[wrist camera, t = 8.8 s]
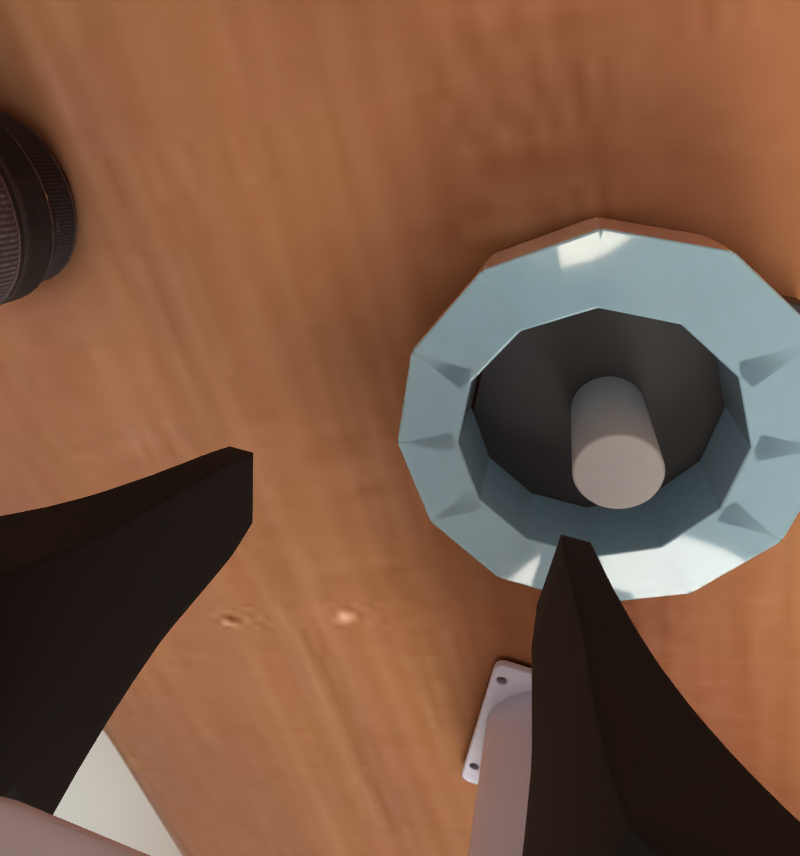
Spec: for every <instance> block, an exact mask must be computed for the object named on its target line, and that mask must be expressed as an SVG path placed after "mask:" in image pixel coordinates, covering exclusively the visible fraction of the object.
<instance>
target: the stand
mask: <svg viewBox="0 0 800 856" xmlns="http://www.w3.org/2000/svg"><path fill="white" fill-rule="evenodd" d="M782 297H783V298H784V299H785V300H786V301H787V302H788V303H789V304H790V305H791V306H792V307H793V308H794V309H795V310H796V311H797V312H798V313H799V314H800V300H798V299H797V298H791V297H786V296H782ZM724 408H725V403H724V398H723V393H722V388H721V383H720V377H719V372H718V367H717V362H716V357H715V356H714V355H713V354H712V353H711V352H710V351H709V350H708V349H707V348H706V347H705V346H704V345H702V344H701V343H700V342H699V341H698V340H697V339H696V338H695V337H694V336H693V335H692V334H691V333H689V332H688V331H687V330H686V329H685V328H684V327H683V326H682V325H681V324H676V323H671V322H666V321H661V320H656V319H651V318H646V317H641V316H636V315H631V314H626V313H621V312H616V311H611V310H606V309H601V308H596V309H593V310H590V311H586V312H583V313H580V314H576V315H573V316H570V317H566V318H563V319H560V320H557V321H553V322H550V323H547V324H543V325H540V326H537V327H533V328H530V329H527V330H523V331H521V332H520V333H519V334H518V335H517V336H516V337H515V338H514V339H513V340H512V341H511V342H510V343H509V344H508V345H507V346H506V347H505V348H504V349H503V350H502V351H501V352H500V353H499V354H498V355H497V356H496V357H495V358H494V359H493V360H492V361H491V362H490V363H489V365H488V366H487V367H486V368H485V369H484V370H483V371H482V372H481V374H480V379H479V383H478V388H477V393H476V398H475V402H474V407H473V413H474V416H475V419H476V421H477V424H478V427H479V430H480V433H481V435H482V438H483V441H484V444H485V446H486V449H487V452H488V455H489V457H490V458H491V459H492V460H493V461H495V462H496V463H497V464H498V465H499V466H500V467H502V468H503V469H504V470H505V471H506V472H507V473H509V474H510V475H511V476H512V477H513V478H515V479H516V480H517V481H518V482H519V483H520V484H522V485H523V486H524V487H525V488H526V489H527V490H529V491H530V492H531V493H533V494H537V495H541V496H545V497H549V498H553V499H557V500H560V501H564V502H568V503H572V504H576V505H580V506H584V507H592V506H598V505H599V506H603V507H606V508H613V509H624V508H630V507H634V506H637V505H640V504H642V503H644V502H646V501H647V500H649V499H650V498H651V497H652V496H653V495H654V494H655V493H656V492H657V491H658V490H659V489H660V488H662V487H663V486H665V485H666V484H667V483H669V482H670V481H672V480H673V479H675V478H676V477H677V476H679V475H680V474H682V473H683V472H685V471H686V470H687V469H689V468H690V467H692V466H693V465H694V464H696V463H697V462H699V461H700V460H701V457H702V455H703V453H704V451H705V449H706V447H707V444H708V442H709V440H710V438H711V436H712V434H713V432H714V429H715V427H716V425H717V423H718V421H719V419H720V416H721V414H722V412H723V410H724Z"/></svg>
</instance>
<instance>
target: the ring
mask: <svg viewBox="0 0 800 856" xmlns="http://www.w3.org/2000/svg"><path fill="white" fill-rule="evenodd" d="M596 308H601V309H606V310H611V311H616V312H621V313H626V314H631V315H636V316H641V317H646V318H651V319H656V320H661V321H666V322H671V323H676V324H681V325H682V326H683V327H684V328H685V329H686V330H687V331H688V332H689V333H691V334H692V335H693V336H694V337H695V338H696V339H697V340H698V341H699V342H700V343H701V344H702V345H704V346H705V347H706V348H707V349H708V350H709V351H710V352H711V353H712V354H713V355H714V356H715V357H716V362H717V367H718V372H719V377H720V383H721V388H722V393H723V398H724V403H725V408H724V410H723V412H722V414H721V416H720V419H719V421H718V423H717V425H716V427H715V429H714V432H713V434H712V436H711V438H710V440H709V442H708V444H707V447H706V449H705V451H704V453H703V455H702V457H701V460H700V461H699V462H697V463H696V464H694V465H693V466H692V467H690V468H689V469H687V470H686V471H685V472H683V473H682V474H680V475H679V476H677V477H676V478H675V479H673V480H672V481H670V482H669V483H667V484H666V485H665V486H663V487H662V488H660V489H659V490H658V491H657V492H656V493H655V494H654V495H653V496H652V497H651V498H650V499H649V500H647V501H646V502H644V503H642V504H640V505H637V506H634V507H630V508H624V509H613V508H606V507H603V506H599V505H598V506H592V507H584V506H580V505H576V504H572V503H568V502H564V501H560V500H557V499H553V498H549V497H545V496H541V495H537V494H533V493H531V492H530V491H529V490H527V489H526V488H525V487H524V486H523V485H522V484H520V483H519V482H518V481H517V480H516V479H515V478H513V477H512V476H511V475H510V474H509V473H507V472H506V471H505V470H504V469H503V468H502V467H500V466H499V465H498V464H497V463H496V462H495V461H493V460H492V459H491V458H490V457H489V455H488V452H487V449H486V446H485V444H484V441H483V438H482V435H481V433H480V430H479V427H478V424H477V421H476V419H475V416H474V413H473V410H472V408H471V407H472V403H473V398H474V394H475V389H476V384H477V380H478V375H479V374H480V373H481V372H482V371H483V370H484V369H485V368H486V367H487V366H488V365H489V363H490V362H491V361H492V360H493V359H494V358H495V357H496V356H497V355H498V354H499V353H500V352H501V351H502V350H503V349H504V348H505V347H506V346H507V345H508V344H509V343H510V342H511V341H512V340H513V339H514V338H515V337H516V336H517V335H518V334H519V333H520V332H521V331H523V330H527V329H530V328H533V327H537V326H540V325H543V324H547V323H550V322H553V321H557V320H560V319H563V318H566V317H570V316H573V315H576V314H580V313H583V312H586V311H590V310H593V309H596ZM398 441H399V442H398V445H399V447H400V450H401V452H402V454H403V457H404V459H405V462H406V464H407V466H408V469H409V471H410V474H411V476H412V478H413V481H414V483H415V485H416V488H417V490H418V493H419V495H420V497H421V500H422V502H423V505H424V507H425V509H426V512H427V514H428V517H429V519H430V520H431V522H432V523H433V524H434V525H435V526H436V527H438V528H439V529H440V530H441V531H442V532H444V533H445V534H446V535H447V536H449V537H450V538H451V539H452V540H453V541H455V542H456V543H457V544H458V545H459V546H461V547H462V548H463V549H464V550H465V551H467V552H468V553H469V554H470V555H471V556H473V557H474V558H475V559H476V560H477V561H479V562H480V563H481V564H482V565H483V566H485V567H486V568H487V569H488V570H489V571H491V572H492V573H493V574H494V575H495V576H497V577H500V578H502V579H505V580H509V581H512V582H516V583H519V584H523V585H526V586H530V587H533V588H536V589H540V590H542V589H543V586H544V583H545V580H546V577H547V574H548V571H549V568H550V565H551V562H552V559H553V556H554V553H555V550H556V548H557V545H558V542H559V539H560V536H561V535H565V536H569V537H573V538H576V539H580V540H584V541H588V542H590V543H591V545H592V546H593V548H594V550H595V552H596V554H597V556H598V558H599V560H600V563H601V565H602V567H603V569H604V571H605V573H606V575H607V577H608V579H609V581H610V583H611V585H612V587H613V589H614V591H615V592H616V594H617V596H618V598H619V600H620V601H624V600H633V599H643V598H652V597H662V596H671V595H681V594H689V593H692V592H694V591H696V590H698V589H699V588H701V587H703V586H705V585H706V584H708V583H710V582H711V581H713V580H715V579H717V578H718V577H720V576H722V575H724V574H725V573H727V572H729V571H731V570H732V569H734V568H736V567H738V566H739V565H741V564H743V563H745V562H746V561H748V560H750V559H752V558H753V557H755V556H757V555H759V554H760V553H762V552H764V551H766V550H767V549H769V548H771V547H773V546H774V545H776V544H778V543H780V542H781V541H782V539H783V538H784V537H785V535H786V533H787V532H788V530H789V528H790V527H791V525H792V523H793V522H794V520H795V518H796V516H797V515H798V513H799V511H800V314H799V313H798V312H797V311H796V310H795V309H794V308H793V307H792V306H791V305H790V304H789V303H788V302H787V301H786V300H785V299H784V298H783V297H782V296H781V295H780V294H778V293H777V292H776V291H775V290H774V289H773V288H772V287H771V286H770V285H769V284H768V283H767V282H766V281H765V280H764V279H763V278H762V277H761V276H760V275H759V274H757V273H756V272H755V271H754V270H753V269H752V268H751V267H750V266H749V265H748V264H747V263H746V262H745V261H744V260H743V259H742V258H741V257H740V256H739V255H738V254H736V253H735V252H733V251H732V250H730V249H728V248H726V247H725V246H723V245H721V244H720V243H718V242H716V241H715V240H713V239H711V238H709V237H707V236H705V235H700V234H694V233H688V232H682V231H677V230H671V229H665V228H659V227H654V226H648V225H642V224H636V223H630V222H625V221H619V220H613V219H607V218H602V217H596V219H595V218H590V219H588V220H585V221H582V222H579V223H577V224H574V225H571V226H568V227H566V228H563V229H560V230H557V231H554V232H552V233H549V234H546V235H543V236H541V237H538V238H535V239H532V240H530V241H527V242H524V243H521V244H519V245H516V246H513V247H510V248H508V249H505V250H502V251H499V252H496V253H495V254H494V255H492V256H491V257H490V258H489V259H488V260H487V261H486V262H485V264H484V265H483V266H482V267H481V268H480V269H479V271H478V272H477V273H476V274H475V275H474V276H473V277H472V279H471V280H470V281H469V282H468V283H467V284H466V286H465V287H464V288H463V289H462V290H461V291H460V293H459V294H458V295H457V296H456V297H455V298H454V300H453V301H452V302H451V303H450V304H449V305H448V307H447V308H446V309H445V310H444V311H443V312H442V314H441V315H440V316H439V317H438V318H437V319H436V321H435V322H434V323H433V324H432V325H431V327H430V328H429V329H428V330H427V332H426V333H425V334H424V336H423V337H422V338H421V339H420V341H419V342H418V343H417V345H416V346H415V347H414V349H413V352H412V353H411V356H410V363H409V369H408V376H407V382H406V388H405V395H404V401H403V408H402V414H401V421H400V427H399V434H398Z"/></svg>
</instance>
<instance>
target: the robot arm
mask: <svg viewBox="0 0 800 856" xmlns="http://www.w3.org/2000/svg"><path fill="white" fill-rule="evenodd" d="M252 512H253V453H252V452H248V451H244V450H241V449H237V448H233V447H227V448H223V449H220V450H217V451H214V452H211V453H209V454H206V455H203V456H201V457H198V458H196V459H193V460H190V461H188V462H185V463H183V464H180V465H177V466H175V467H172V468H170V469H167V470H164V471H162V472H159V473H156V474H154V475H151V476H148V477H146V478H143V479H140V480H137V481H134V482H131V483H128V484H125V485H122V486H119V487H116V488H113V489H110V490H107V491H104V492H101V493H98V494H95V495H91V496H88V497H84V498H81V499H77V500H73V501H69V502H65V503H61V504H57V505H53V506H49V507H45V508H40V509H35V510H30V511H25V512H20V513H15V514H10V515H4V516H0V856H150V855H147V854H145V853H142V852H140V851H137V850H135V849H132V848H130V847H128V846H125V845H123V844H121V843H118V842H116V841H114V840H111V839H109V838H106V837H104V836H101V835H99V834H97V833H94V832H92V831H90V830H87V829H85V828H82V827H80V826H77V825H75V824H73V823H70V822H68V821H65V820H63V819H61V818H58V817H56V816H53V813H54V812H55V810H56V808H57V806H58V805H59V803H60V801H61V799H62V797H63V796H64V794H65V792H66V790H67V789H68V787H69V785H70V783H71V781H72V780H73V778H74V776H75V774H76V772H77V771H78V769H79V768H80V766H81V764H82V763H83V761H84V759H85V758H86V756H87V754H88V753H89V751H90V749H91V748H92V746H93V744H94V743H95V741H96V739H97V738H98V736H99V735H100V733H101V731H102V730H103V728H104V726H105V725H106V723H107V721H108V720H109V718H110V717H111V715H112V714H113V712H114V710H115V709H116V707H117V706H118V704H119V703H120V701H121V700H122V698H123V696H124V695H125V693H126V692H127V690H128V689H129V687H130V686H131V684H132V683H133V681H134V680H135V678H136V677H137V675H138V674H139V672H140V671H141V669H142V668H143V666H144V665H145V663H146V662H147V660H148V659H149V658H150V656H151V655H152V653H153V652H154V650H155V649H156V647H157V646H158V644H159V643H160V642H161V641H162V639H163V638H164V637H165V635H166V634H167V633H168V632H169V630H170V629H171V628H172V626H173V625H174V624H175V623H176V622H177V621H178V619H179V618H180V617H181V616H182V615H183V613H184V612H185V611H186V610H187V609H188V608H189V606H190V605H191V604H192V603H193V602H194V600H195V599H196V598H197V597H198V596H199V595H200V593H201V592H202V591H203V590H204V589H205V587H206V586H207V585H208V584H209V583H210V582H211V580H212V579H213V578H214V577H215V575H216V574H217V573H218V572H219V571H220V569H221V568H222V567H223V566H224V565H225V563H226V562H227V561H228V560H229V558H230V557H231V556H232V554H233V553H234V551H235V550H236V548H237V547H238V545H239V544H240V542H241V540H242V539H243V537H244V535H245V534H246V532H247V530H248V529H249V527H250V525H251V524H252ZM501 677H504V678H501ZM462 776H463V778H464V779H465V780H466V781H468V782H471V783H474V784H477V785H478V787H477V795H476V802H475V809H474V816H473V823H472V831H471V838H470V845H469V852H468V856H800V822H799V821H798V820H797V819H796V818H795V817H794V816H793V815H792V814H791V813H790V812H788V811H787V810H786V809H785V808H784V807H783V806H782V805H781V804H780V803H779V802H778V801H777V800H776V799H775V798H774V797H773V796H772V795H771V794H770V793H769V792H768V791H767V790H766V789H765V788H764V787H763V786H762V785H761V784H760V783H759V782H758V781H757V780H756V779H755V778H754V777H753V776H752V775H751V774H750V773H749V772H748V771H747V770H746V769H745V767H744V766H743V765H742V764H741V763H740V762H739V761H738V760H737V759H736V758H735V757H734V756H733V755H732V754H731V753H730V752H729V750H728V749H727V748H726V747H725V746H724V745H723V744H722V742H721V741H720V740H719V739H718V738H717V737H716V736H715V735H714V733H713V732H712V731H711V730H710V729H709V728H708V727H707V725H706V724H705V723H704V722H703V721H702V720H701V718H700V717H699V716H698V715H697V714H696V712H695V711H694V710H693V709H692V708H691V706H690V705H689V704H688V703H687V701H686V700H685V699H684V697H683V696H682V695H681V693H680V692H679V691H678V690H677V688H676V687H675V686H674V684H673V683H672V682H671V680H670V679H669V678H668V676H667V675H666V674H665V672H664V671H663V670H662V668H661V667H660V665H659V664H658V662H657V661H656V660H655V658H654V657H653V655H652V653H651V652H650V650H649V649H648V647H647V646H646V644H645V643H644V641H643V639H642V638H641V636H640V635H639V633H638V631H637V630H636V628H635V626H634V625H633V623H632V621H631V619H630V618H629V616H628V614H627V612H626V611H625V609H624V607H623V605H622V603H621V602H620V600H619V598H618V596H617V594H616V592H615V591H614V589H613V587H612V585H611V583H610V581H609V579H608V577H607V575H606V573H605V571H604V569H603V567H602V565H601V563H600V560H599V558H598V556H597V554H596V552H595V550H594V548H593V546H592V545H591V543H590V542H588V541H584V540H580V539H576V538H573V537H569V536H565V535H561V536H560V539H559V542H558V545H557V548H556V550H555V553H554V556H553V559H552V562H551V565H550V568H549V571H548V574H547V577H546V580H545V583H544V586H543V589H542V592H541V595H540V598H539V601H538V604H537V610H536V618H535V625H534V633H533V642H532V668H529V667H525V666H522V665H519V664H516V663H512V662H509V661H505V660H501V661H498V662H496V663H495V665H494V668H493V671H492V674H491V678H490V681H489V684H488V687H487V691H486V694H485V697H484V701H483V704H482V707H481V710H480V714H479V717H478V720H477V723H476V727H475V730H474V733H473V736H472V740H471V743H470V746H469V750H468V753H467V756H466V759H465V763H464V766H463V770H462Z"/></svg>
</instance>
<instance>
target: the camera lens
mask: <svg viewBox="0 0 800 856" xmlns="http://www.w3.org/2000/svg"><path fill="white" fill-rule="evenodd" d="M76 231H77V221H76V214H75V208H74V202H73V199H72V195H71V192H70V188H69V186H68V184H67V181H66V179H65V177H64V174H63V172H62V171H61V169H60V167H59V165H58V164H57V162H56V160H55V158H54V157H53V156H52V154H51V153H50V152H49V150H48V149H47V148H46V146H45V145H44V144H43V142H42V141H41V140H40V139H39V138H38V137H37V136H36V135H35V134H34V133H33V132H32V131H31V130H30V129H28V128H27V127H26V126H25V125H24V124H22V123H21V122H20V121H18V120H16V119H15V118H13V117H11V116H10V115H8V114H6V113H4V112H2V111H0V305H2V304H5V303H8V302H11V301H14V300H17V299H20V298H22V297H24V296H26V295H28V294H29V293H31V292H32V291H33V290H34V289H35V288H37V287H38V285H39V284H40V283H41V282H42V281H45V280H47V279H50V278H52V277H53V276H55V275H56V274H58V273H59V272H60V271H61V270H62V269H63V268H64V267H65V266H66V264H67V263H68V261H69V259H70V257H71V255H72V252H73V250H74V246H75V242H76Z"/></svg>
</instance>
